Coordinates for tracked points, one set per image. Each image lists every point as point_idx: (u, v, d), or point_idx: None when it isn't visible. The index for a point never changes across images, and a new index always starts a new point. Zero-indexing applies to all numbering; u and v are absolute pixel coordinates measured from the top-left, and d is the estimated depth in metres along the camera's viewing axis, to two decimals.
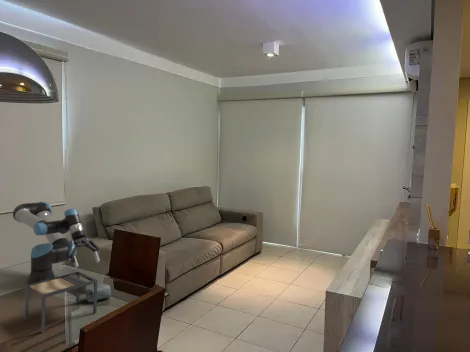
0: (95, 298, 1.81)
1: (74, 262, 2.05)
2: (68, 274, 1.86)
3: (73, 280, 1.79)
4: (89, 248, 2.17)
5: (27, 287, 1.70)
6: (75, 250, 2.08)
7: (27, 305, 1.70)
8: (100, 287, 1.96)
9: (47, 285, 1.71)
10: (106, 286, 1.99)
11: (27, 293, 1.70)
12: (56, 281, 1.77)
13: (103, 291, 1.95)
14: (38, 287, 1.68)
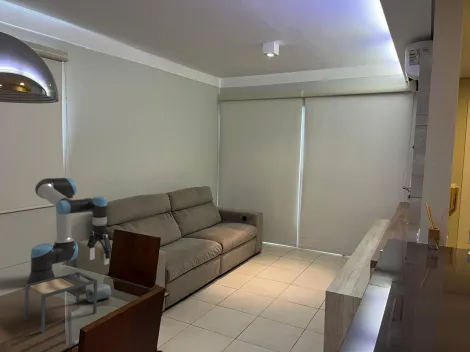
0: (95, 298, 1.81)
1: None
2: (68, 274, 1.86)
3: (73, 280, 1.79)
4: None
5: (27, 287, 1.70)
6: (91, 243, 1.99)
7: (27, 305, 1.70)
8: (100, 287, 1.96)
9: (47, 285, 1.71)
10: (106, 286, 1.99)
11: (27, 293, 1.70)
12: (56, 281, 1.77)
13: (103, 291, 1.95)
14: (38, 287, 1.68)
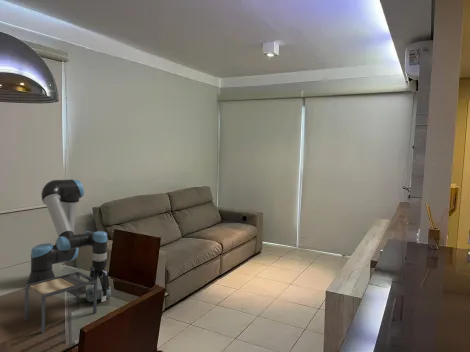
0: (95, 298, 1.81)
1: None
2: (68, 274, 1.86)
3: (73, 280, 1.79)
4: None
5: (27, 287, 1.70)
6: None
7: (27, 305, 1.70)
8: (100, 287, 1.96)
9: (47, 285, 1.71)
10: None
11: (27, 293, 1.70)
12: (56, 281, 1.77)
13: None
14: (38, 287, 1.68)
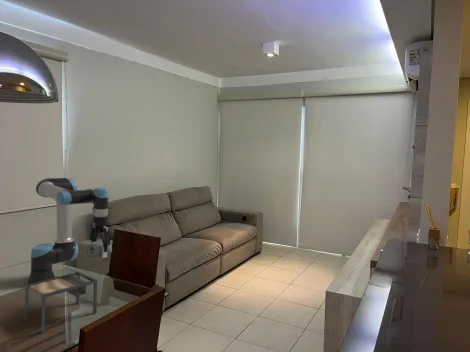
0: (95, 298, 1.81)
1: None
2: (68, 274, 1.86)
3: (73, 280, 1.79)
4: None
5: (27, 287, 1.70)
6: (93, 236, 1.97)
7: (27, 305, 1.70)
8: (101, 243, 1.94)
9: (47, 285, 1.71)
10: None
11: (27, 293, 1.70)
12: (56, 281, 1.77)
13: None
14: (38, 287, 1.68)
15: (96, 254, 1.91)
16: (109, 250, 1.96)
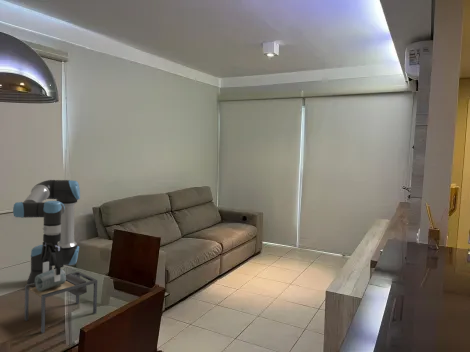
0: (95, 298, 1.81)
1: None
2: (68, 274, 1.86)
3: (73, 279, 1.79)
4: None
5: (27, 287, 1.70)
6: (44, 256, 1.72)
7: (27, 305, 1.70)
8: (51, 274, 1.67)
9: None
10: None
11: (27, 293, 1.70)
12: None
13: None
14: None
15: (46, 287, 1.65)
16: (62, 280, 1.70)
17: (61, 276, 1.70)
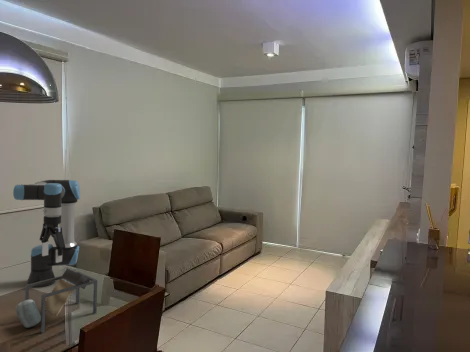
0: (95, 298, 1.81)
1: None
2: None
3: (70, 277, 1.78)
4: None
5: (27, 287, 1.70)
6: (44, 237, 1.72)
7: None
8: (22, 320, 1.60)
9: (54, 298, 1.74)
10: (20, 313, 1.59)
11: (27, 293, 1.70)
12: (58, 287, 1.78)
13: (28, 318, 1.60)
14: (48, 306, 1.73)
15: (37, 319, 1.64)
16: (30, 309, 1.60)
17: (25, 312, 1.59)
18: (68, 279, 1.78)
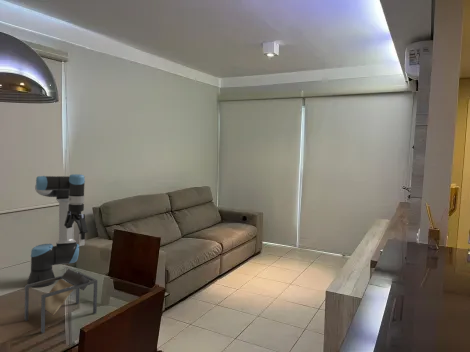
0: (95, 298, 1.81)
1: None
2: None
3: (71, 277, 1.78)
4: None
5: (27, 287, 1.70)
6: (68, 223, 1.90)
7: (27, 305, 1.70)
8: None
9: (52, 297, 1.74)
10: None
11: (27, 293, 1.70)
12: (58, 286, 1.78)
13: None
14: (46, 304, 1.72)
15: None
16: None
17: None
18: (68, 279, 1.78)
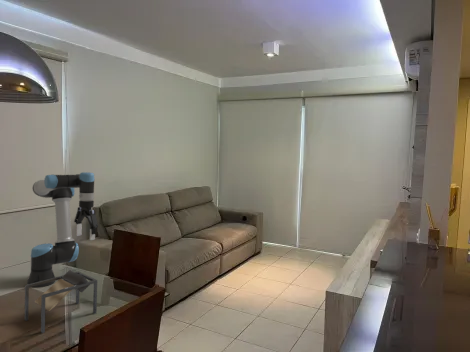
0: (95, 298, 1.81)
1: None
2: None
3: (71, 278, 1.79)
4: None
5: (27, 287, 1.70)
6: (78, 219, 1.99)
7: (27, 305, 1.70)
8: None
9: None
10: None
11: (27, 293, 1.70)
12: (57, 285, 1.77)
13: None
14: None
15: None
16: None
17: None
18: (69, 279, 1.78)
